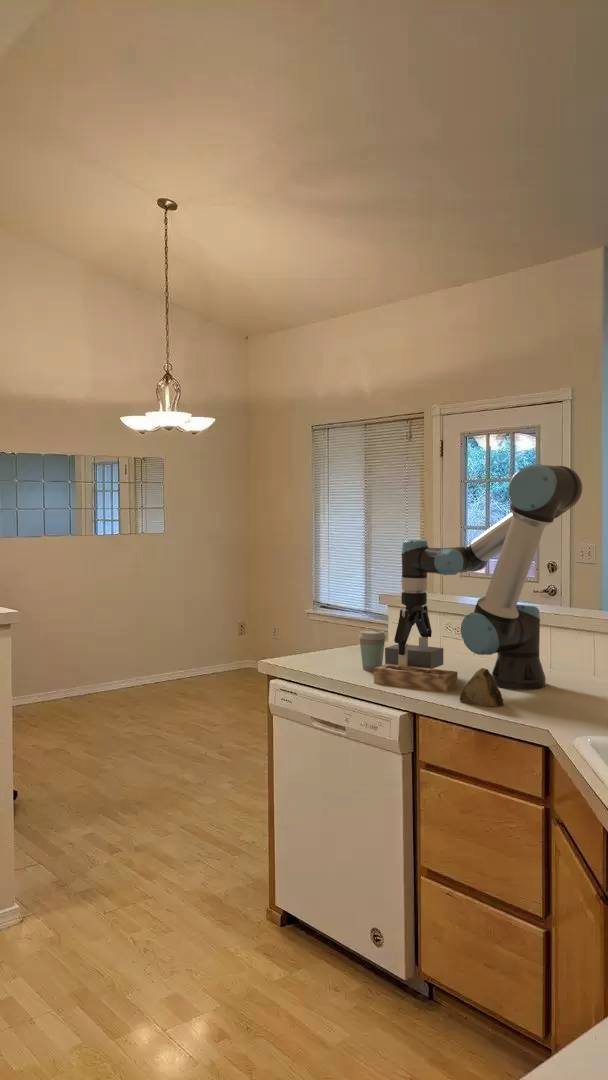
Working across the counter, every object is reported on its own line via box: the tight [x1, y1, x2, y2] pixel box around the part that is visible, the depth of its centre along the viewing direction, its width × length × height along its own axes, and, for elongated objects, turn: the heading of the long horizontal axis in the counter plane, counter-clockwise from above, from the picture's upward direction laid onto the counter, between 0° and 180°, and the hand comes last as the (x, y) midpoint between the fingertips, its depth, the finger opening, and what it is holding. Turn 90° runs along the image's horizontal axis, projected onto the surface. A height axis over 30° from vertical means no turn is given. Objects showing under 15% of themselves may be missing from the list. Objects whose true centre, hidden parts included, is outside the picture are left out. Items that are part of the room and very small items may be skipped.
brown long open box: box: [373, 663, 458, 693], centre depth 244 cm, size 22×8×4 cm, turn 56°
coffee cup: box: [358, 629, 387, 672], centre depth 267 cm, size 8×8×12 cm
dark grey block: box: [384, 643, 444, 669], centre depth 256 cm, size 15×9×8 cm, turn 56°
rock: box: [459, 667, 506, 708], centre depth 221 cm, size 11×9×10 cm
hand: (413, 662), depth 256 cm, fingers open, 13 cm apart
